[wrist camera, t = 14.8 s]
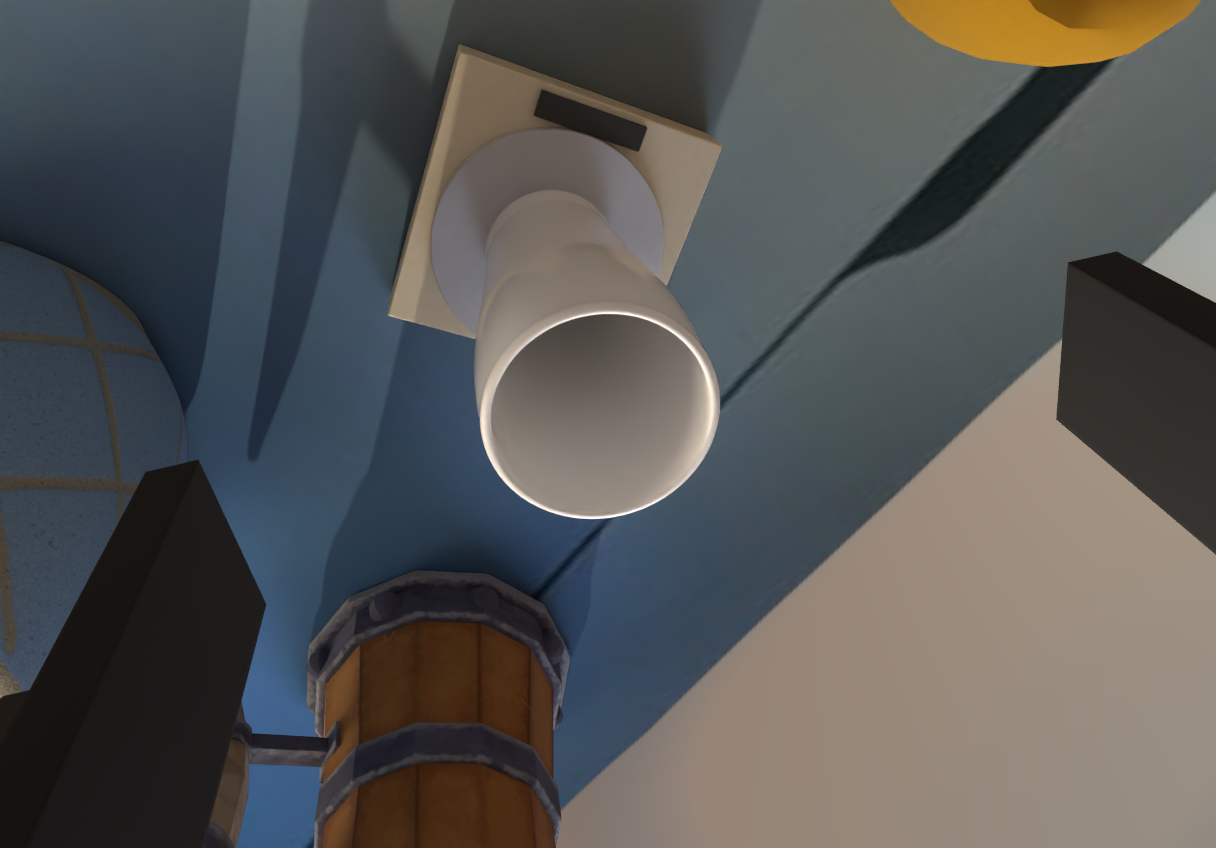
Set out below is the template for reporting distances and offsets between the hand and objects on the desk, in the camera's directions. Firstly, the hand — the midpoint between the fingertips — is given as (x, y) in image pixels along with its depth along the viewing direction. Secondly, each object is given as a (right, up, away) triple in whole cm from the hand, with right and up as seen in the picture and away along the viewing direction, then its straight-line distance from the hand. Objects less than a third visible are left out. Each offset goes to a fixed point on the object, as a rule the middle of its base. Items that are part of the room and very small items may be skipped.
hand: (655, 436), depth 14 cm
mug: (-12, -13, +37) cm, 41 cm away
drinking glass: (-3, +7, +25) cm, 26 cm away
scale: (-3, +9, +27) cm, 29 cm away
